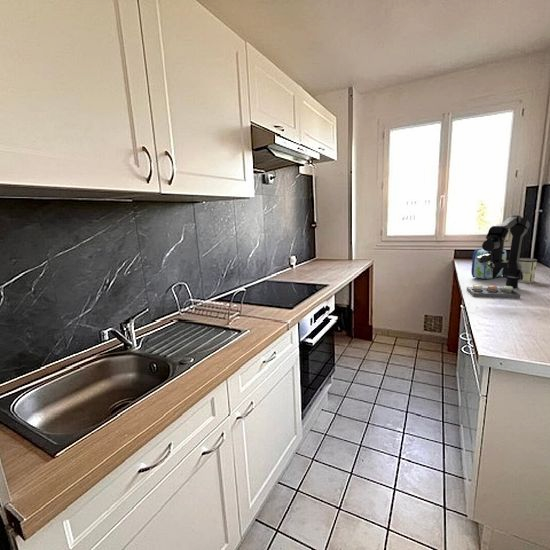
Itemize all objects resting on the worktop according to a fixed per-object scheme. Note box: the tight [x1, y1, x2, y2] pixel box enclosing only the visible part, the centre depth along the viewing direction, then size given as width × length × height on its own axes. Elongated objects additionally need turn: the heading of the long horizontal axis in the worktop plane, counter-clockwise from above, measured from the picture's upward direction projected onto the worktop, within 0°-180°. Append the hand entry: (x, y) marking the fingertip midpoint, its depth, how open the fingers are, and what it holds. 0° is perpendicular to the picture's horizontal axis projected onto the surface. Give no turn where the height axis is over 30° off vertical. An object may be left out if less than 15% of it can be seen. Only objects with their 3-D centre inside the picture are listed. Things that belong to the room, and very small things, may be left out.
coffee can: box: [518, 257, 538, 283], centre depth 198 cm, size 10×10×14 cm
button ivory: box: [472, 284, 483, 291], centre depth 170 cm, size 4×4×3 cm
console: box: [466, 286, 522, 300], centre depth 168 cm, size 14×21×3 cm, turn 72°
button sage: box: [502, 285, 514, 292], centre depth 166 cm, size 4×4×3 cm
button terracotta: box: [487, 284, 499, 292], centre depth 168 cm, size 4×4×3 cm
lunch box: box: [471, 247, 508, 280], centre depth 210 cm, size 26×11×21 cm, turn 118°
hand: (493, 278), depth 167 cm, fingers closed
